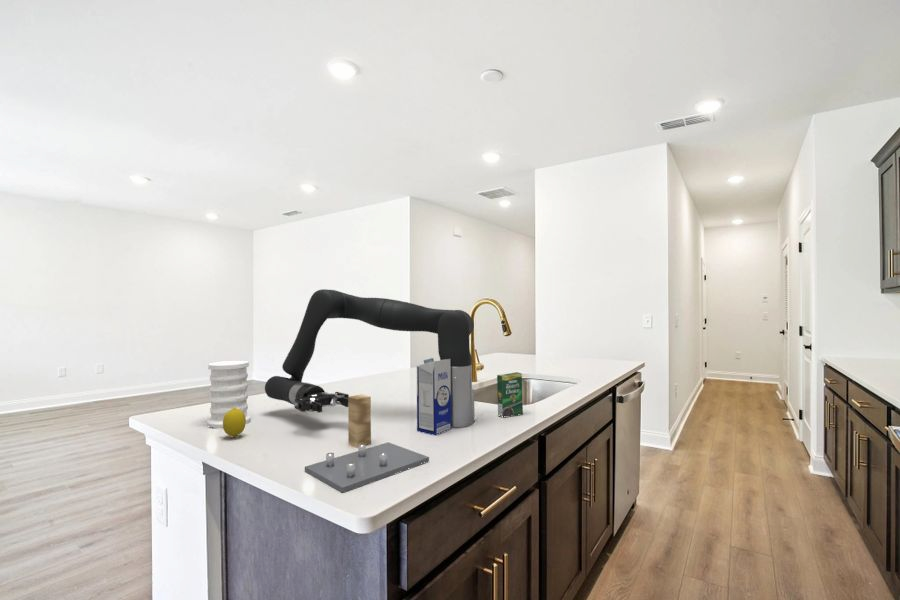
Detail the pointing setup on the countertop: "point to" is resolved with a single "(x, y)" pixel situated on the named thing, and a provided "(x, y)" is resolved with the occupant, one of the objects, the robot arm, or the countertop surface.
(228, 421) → the lemon
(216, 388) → the decorative container
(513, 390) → the coffee box
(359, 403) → the oak block
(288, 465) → the countertop surface
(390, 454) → the plate
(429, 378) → the milk carton
